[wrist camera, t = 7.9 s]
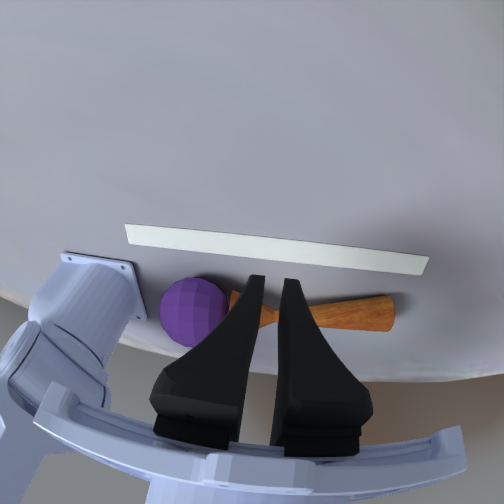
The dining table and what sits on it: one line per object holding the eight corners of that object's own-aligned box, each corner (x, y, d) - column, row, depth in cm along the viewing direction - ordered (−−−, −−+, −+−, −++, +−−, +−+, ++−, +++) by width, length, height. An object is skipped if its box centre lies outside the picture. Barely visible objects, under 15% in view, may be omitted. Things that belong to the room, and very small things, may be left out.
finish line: (129, 242, 23) (128, 243, 23) (125, 223, 22) (124, 224, 22) (420, 274, 22) (421, 275, 22) (429, 256, 20) (429, 257, 20)
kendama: (381, 356, 23) (163, 354, 23) (370, 304, 27) (175, 301, 28) (408, 325, 19) (142, 322, 19) (390, 266, 23) (160, 262, 23)
